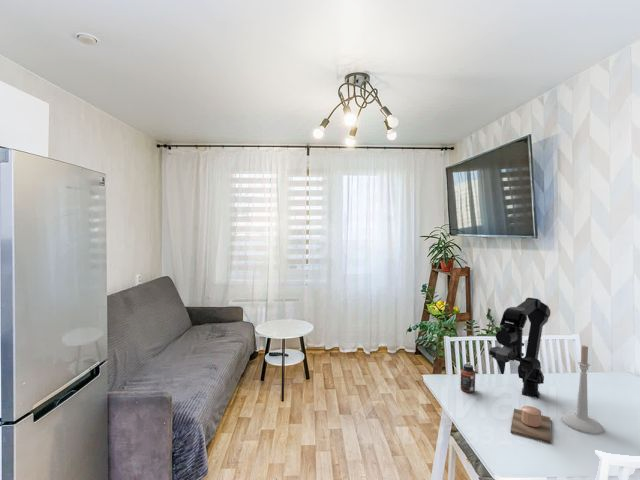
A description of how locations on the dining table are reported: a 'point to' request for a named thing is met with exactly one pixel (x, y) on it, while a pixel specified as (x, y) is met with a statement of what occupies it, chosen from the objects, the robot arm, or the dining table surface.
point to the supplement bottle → (468, 378)
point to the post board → (531, 428)
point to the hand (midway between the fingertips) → (512, 378)
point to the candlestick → (582, 403)
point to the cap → (531, 416)
